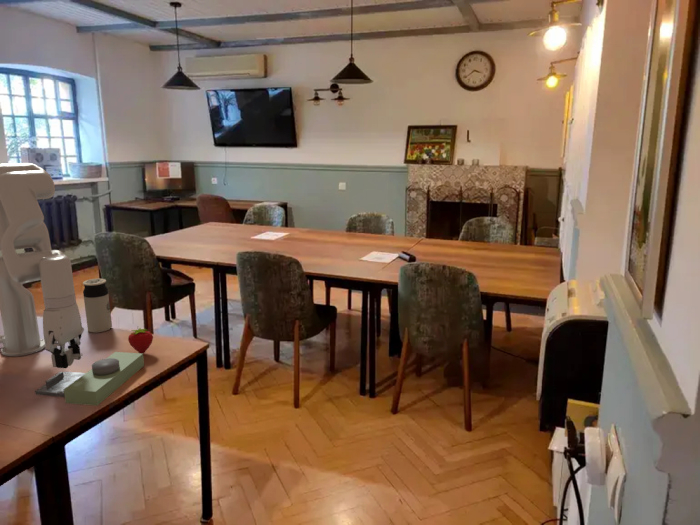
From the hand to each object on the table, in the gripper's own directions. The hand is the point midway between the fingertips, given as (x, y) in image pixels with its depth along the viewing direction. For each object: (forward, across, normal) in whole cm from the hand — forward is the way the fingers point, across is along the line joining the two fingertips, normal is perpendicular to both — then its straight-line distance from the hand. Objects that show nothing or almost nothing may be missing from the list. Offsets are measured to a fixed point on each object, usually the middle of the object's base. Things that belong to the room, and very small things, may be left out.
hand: (68, 362), depth 144 cm
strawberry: (+7, -23, +8) cm, 26 cm away
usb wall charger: (+1, 0, 0) cm, 1 cm away
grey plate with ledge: (+7, 0, -1) cm, 7 cm away
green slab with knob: (+7, -3, +9) cm, 12 cm away
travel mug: (+7, -41, -18) cm, 45 cm away
